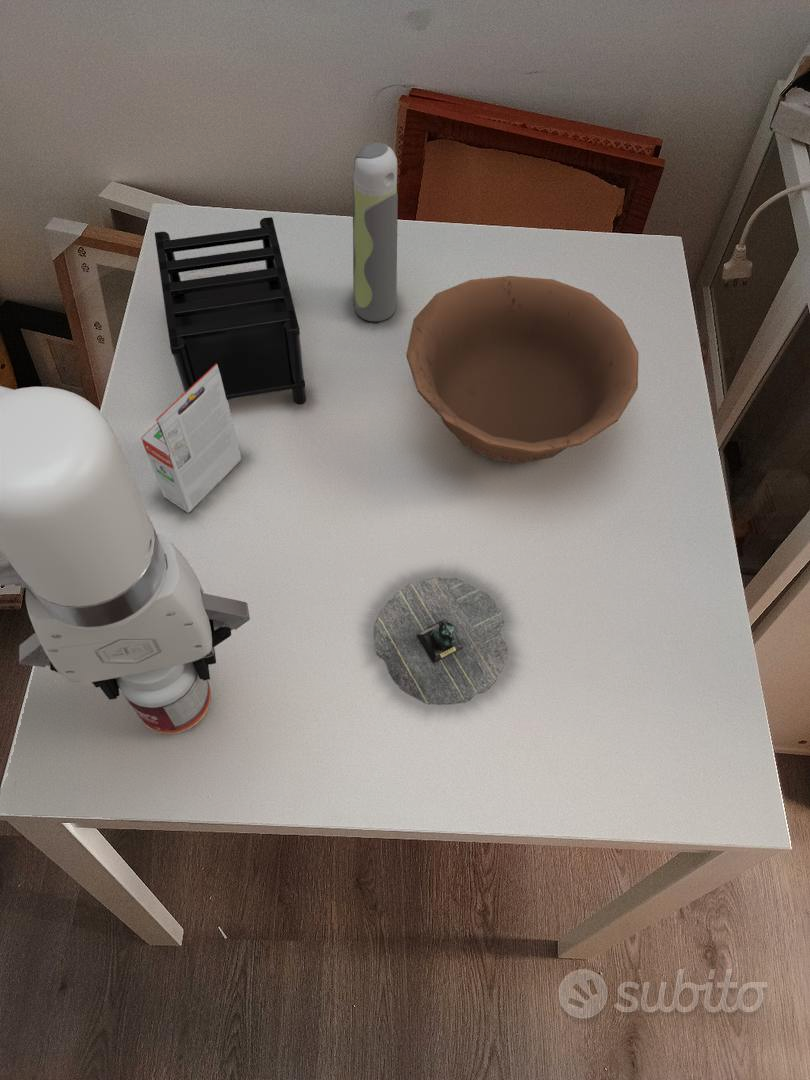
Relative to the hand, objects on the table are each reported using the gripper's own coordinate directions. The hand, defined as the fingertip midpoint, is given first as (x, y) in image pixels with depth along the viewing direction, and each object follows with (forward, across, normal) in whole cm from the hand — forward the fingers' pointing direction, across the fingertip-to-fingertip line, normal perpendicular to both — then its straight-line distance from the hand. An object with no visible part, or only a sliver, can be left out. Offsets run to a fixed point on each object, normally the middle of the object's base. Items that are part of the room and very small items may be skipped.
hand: (158, 670), depth 64 cm
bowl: (+8, +37, +23) cm, 44 cm away
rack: (+8, +11, +38) cm, 40 cm away
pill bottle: (+7, 0, 0) cm, 7 cm away
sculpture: (+8, +24, +1) cm, 25 cm away
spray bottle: (+8, +27, +42) cm, 50 cm away
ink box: (+8, +5, +22) cm, 24 cm away
